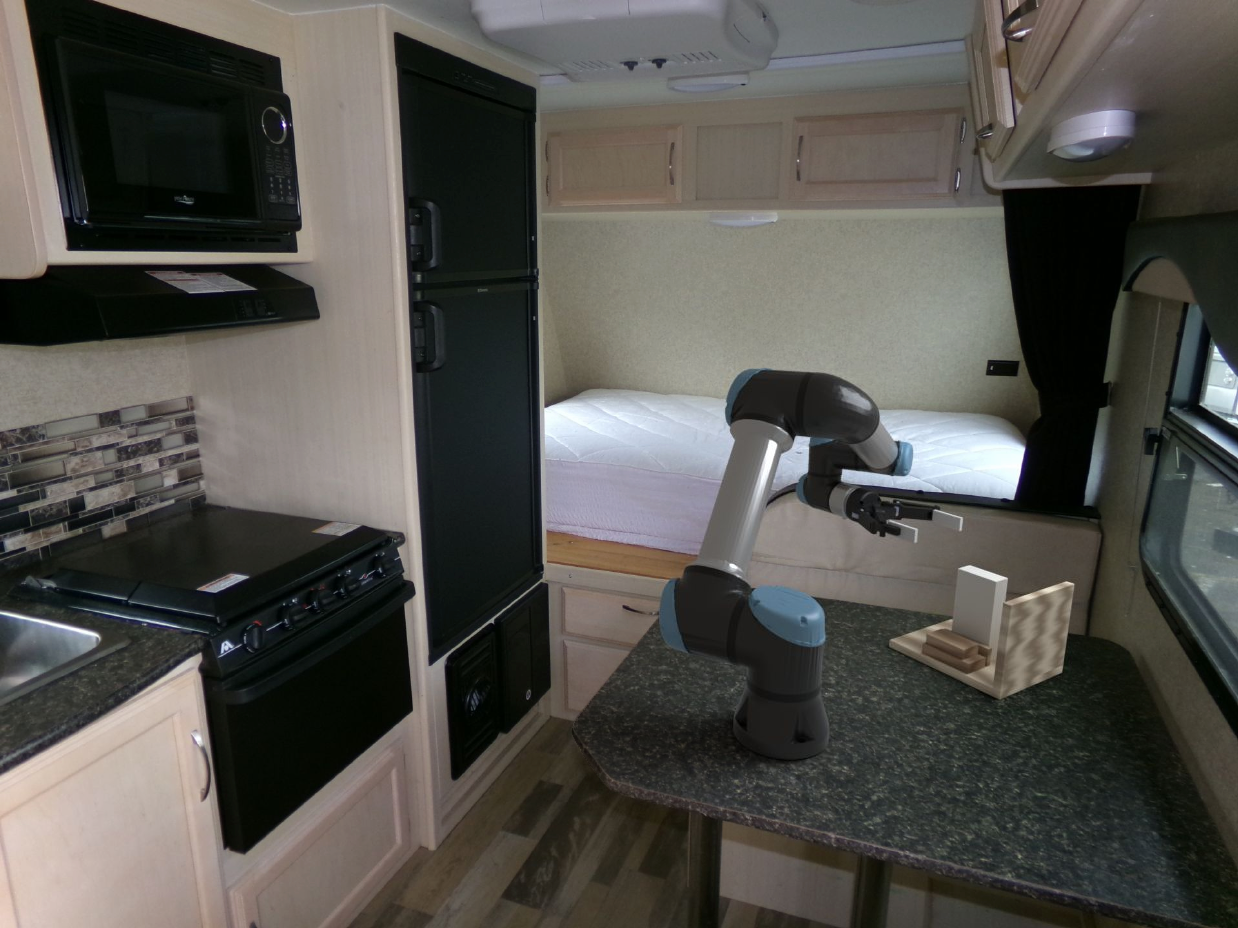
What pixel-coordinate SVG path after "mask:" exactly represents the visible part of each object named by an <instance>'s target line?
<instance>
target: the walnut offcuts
mask: <svg viewBox="0 0 1238 928" xmlns="http://www.w3.org/2000/svg"><path fill="white" fill-rule="evenodd" d="M978 646H979V644H977V643H974V642H972V641H970V640H967V639H965V638H963V637H960V636H958V635H956V634H953V633H951V632H949V631H946V630H944V629H939V630H936V631H933V632H930V633H927V636H926V642H924V643H923V644H922V653H923V654H925V655H927V656H930V657H932V658H934V659H936V660H938V661H940V662H942V663H945V664H947V665H949V666H951V667H953V668H955V669H957V670H960V671H962V672H964V673H966V674H970V673H972V672H975V671H977V670H980V669H982V668H985V662H986V657H984V656H981V655H979V654H978Z"/></svg>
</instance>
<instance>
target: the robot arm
mask: <svg viewBox="0 0 1238 928" xmlns="http://www.w3.org/2000/svg"><path fill="white" fill-rule="evenodd" d="M725 403H726V406H725V408H724V416H725V422H726V423H727V426H728V427H729V432H730V434H731V437H732V438H733V440H734V442H733V445H732V448H731V452H730V455H729V457H728V461H727V464H726V467H725V470H724V473H723V477H722V480H721V482H720V486H719V489H718V492H717V494H716V495H717V496H716V497H715V501H714V504H713V508H712V511H711V514H710V518H709V520H708V525H707V526H706V527H707V528H706V530H705V532H704V536H703V540H702V543H701V546H700V548H699V552H698V555H697V559H696V560H694V561H692V562H690V563H688V564H686V565H685V567H684V570H683V573H682V576H681V577H674V578H670V579H669V580H668V581H667V583H666V584H665V585H664V587H663V590H662V593H661V595H660V596H661V597H660V601H659V609H658V610H659V611H658V622H659V628H660V629H659V630H660V633H661V636H662V639H663V640H664V642H665V643H666V645H667V646H668V647H670V648H672V649H673V650H677V651H680V652H683V653H685V654H687V655H689V656H699V657H702V658H706V659H708V660H709V659H710V660H714V661H717V662H721V663H725V664H729V665H732V666H737V667H739V668H740V667H741V668H744V669H746V682H745V686H744V688H743V692H742V695H741V696H740V698H739V701H738V703H737V706H736V709H735V712H734V713H733V722H732V723H733V724H732V726H733V727H732V732H733V735H734V736H735V738H736V740H737V741H738V742H739V743H740V744H741V745H742V746H744V747H745V748H747V749H748V750H750V751H752V752H754V753H757V754H758V755H761V756H764V757H768V758H773V759H778V760H791V761H792V760H802V759H806V758H810V757H811V758H812V757H814V756H816V755H818V754H820V753H822V752H823V751H824V750H825V749H826V748H827V746H828V744H829V740H830V723H829V720H828V716H827V715H828V714H827V711H826V709H825V705H824V701H823V698H822V694H821V693H822V692H821V690H822V688H821V687H822V678H823V677H822V675H823V664H824V651H825V649H824V648H825V641H826V637H827V636H826V634H827V633H826V628H825V627H826V625H825V624H826V623H825V622H826V620H825V619H826V617H825V616H826V615H825V611H824V609H823V607H822V606H821V605H820V603H818V602H817V600H815V598H813V597H811V595H809V594H807V593H805V592H803V591H800V590H797V589H794V588H790V587H789V586H788V587H786V586H782V585H775V586H772V585H762V586H758V587H756V588H754V590H752V587H753V586H752V584H751V582H750V580H749V578H748V577H747V572H748V570H749V565H750V562H751V559H752V555H753V552H754V548H755V545H756V542H757V538H758V535H759V533H760V528H761V524H762V522H763V517H764V514H765V511H766V508H767V504H768V501H769V498H770V494H771V491H772V487H773V484H774V480H775V477H776V474H777V469H778V467H779V463H780V461H781V460H780V459H781V457H782V454H785V453H787V452H789V451H790V450H792V448H793V446H794V443H795V439H796V437H802V438H803V437H804V438H809V442H808V443H809V444H808V463H807V464H808V466H807V468H808V469H807V472H805V473H804V474H802V475H801V476H800V477H799V479H798V482H797V484H796V485H795V493H796V497H797V499H798V500H799V501H800V502H801V503H803V504H805V505H807V506H809V507H810V508H811V509H812V508H813V509H816V510H820V511H822V512H827V513H829V514H832V515H835V516H839V517H841V518H842V519H843V520H845V521H846V520H847V519H848V520H849V521H852V522H856V523H858V524H859V525H860V526H862V528H864V529H865V530H866V531H867V532H868V533H870V534H872V535H877V534H878V532H879V535H878V536H879V537H880V538H886V536H887V535H889V536H893V537H895V538H898V539H901V540H904V541H906V542H910V543H913V544H916V543H918V534H919V533H918V532H919V529H918V528H916V527H912V526H910V525H906V524H903V523H900V522H897V521H902V520H903V519H904V520H905V519H906V520H918V521H927V522H928V521H931V523H932V524H934V525H938V526H941V527H945V528H948V529H951V530H954V531H958V532H962V530H963V521H964V518H963V517H962V516H958V515H955V514H951V513H947V512H945V511H941V506H938V504H934V505H931V504H923V503H917V502H910V501H904V500H900V499H896V498H894V499H892V502H891V501H888V500H882V499H881V496H880V495H879V494H878V492H876V491H874V490H872V489H869V488H864V487H861V486H859V485H856V484H852V483H850V482H849V483H848V482H844V481H842V475H843V470H846V471H854V472H862V473H863V472H864V473H869V474H870V473H871V474H877V475H886V476H889V477H907V476H908V475H909V474H910V473H911V471H912V466H913V460H914V448H913V444H911V443H910V442H909V441H907V442H906V441H901V440H894V438H893V437H892V436H891V434H890V433H889V431H888V430H887V428H886V427H885V426H884V424H883V423H882V421H881V415H880V414H881V413H880V410H879V408H878V406H877V404H876V403H875V400H873V399H872V398H871V396H870V395H869V394H868V393H866V392H865V391H863V390H862V389H861V388H860V387H858V386H857V385H855V384H854V383H852V382H850V381H848V380H847V379H844V378H842V377H841V376H838V375H834V374H831V373H827V372H819V371H816V372H813V371H812V372H810V371H800V370H799V371H798V370H782V369H772V368H769V367H761V368H748V369H745V370H743V371H741V372H740V373H739V374H738V375H737V376H736V377H735V378H734V379H733V381H732V384H731V385H730V387H729V389H728V392H727V395H726V399H725ZM886 534H887V535H886Z"/></svg>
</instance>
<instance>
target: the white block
mask: <svg viewBox="0 0 1238 928" xmlns="http://www.w3.org/2000/svg"><path fill="white" fill-rule="evenodd" d="M1008 580H1009V578H1008V577H1006V576H1003V575H999V574H997V573H994V572H991V571H988V570H985V569H982V568H979V567H977V566H974V565H965V566H962V567H959V568H957V575H956V584H955V595H954V605H953V614H952V620H953V621H952V630H951V631H953V632H956V633H958V634H960V635H963V636H965V637H967V638H970V639H972V640H974V641H977V642H979V643H981V644H984V645H986V646H989V647H991V648H992V653H991V661H992V660H995V659H996V658H997V649H998V641H999V633H1000V625H1001V617H1002V608H1003V603H1004V602H1006V598H1007V597H1006V596H1007V591H1008V590H1007V589H1008Z"/></svg>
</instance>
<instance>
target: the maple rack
mask: <svg viewBox="0 0 1238 928" xmlns="http://www.w3.org/2000/svg"><path fill="white" fill-rule="evenodd" d="M1075 585H1076V584H1075V583H1073V582H1069V581H1064V582H1061V583H1056V584H1055V585H1051V586H1048V587H1046V588H1042V589H1040V590H1037V591H1033V592H1031V593H1029V594H1025V595H1022V596H1019V597H1016V598H1013V599H1010V600H1007V601H1005V602H1004V603H1003V608H1002V617H1001V625H1000V633H999V641H998V649H997V658H996V659H995V660H992V661H991V653H992V648H991V647H989V646H986V645H984V644H981V643H979V642H977V641H974V640H972V639H970V638H967V637H965V636H963V635H960V634H958V633H956V632H953V631H951V630H952V621H953V618H951V619H948V620H945V621H941V622H938V623H937V624H933V625H929V626H926V627H924V628H921V629H919V630H915V631H912V632H909V633H906V634H903V635H901V636H897V637H894V638H891V639H889V642H888V643H889V644H888V645H889V646H888V647H889V648H890V649H892V650H895V651H897V652H899V653H901V654H903V655H905V656H907V657H910V658H912V659H914V660H915V661H918V662H920V663H921V664H924V665H926V666H928V667H931V668H933V669H935V670H937V671H939V672H941V673H943V674H945V675H947V676H950V677H952V678H953V679H956V680H958V681H960V682H962V683H963V684H966V685H968V686H970V687H971V688H972V687H973V688H975V689H977V690H978V691H981V692H983V693H985V694H987V695H989V696H991V697H993V698H996V699H997V700H1002V699H1004V698H1006V697H1009V696H1012V695H1014V694H1016V693H1018V692H1021V691H1023V690H1024V689H1025V690H1026V689H1028V688H1030V687H1032V686H1034V685H1036V684H1039V683H1041V682H1044V681H1046V680H1048V679H1050V678H1052V677H1055V676H1057V675H1059V674H1062V673H1063V668H1064V662H1065V661H1064V659H1065V654H1066V647H1067V639H1068V633H1069V626H1070V618H1071V612H1072V605H1073V598H1074V591H1075ZM939 629H944V630H946V631H949V632H951V633H953V634H956V635H958V636H960V637H963V638H965V639H967V640H970V641H972V642H974V643H977V644H979V646H978V654H979V655H981V656H984V657H986V662H985V668H982V669H980V670H977V671H975V672H972V673H970V674H966V673H964V672H962V671H960V670H957V669H955V668H953V667H951V666H949V665H947V664H945V663H942V662H940V661H938V660H936V659H934V658H932V657H930V656H927V655H925V654H923V653H922V644H923V643H924V642H926V636H927V633H930V632H933V631H936V630H939Z"/></svg>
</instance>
